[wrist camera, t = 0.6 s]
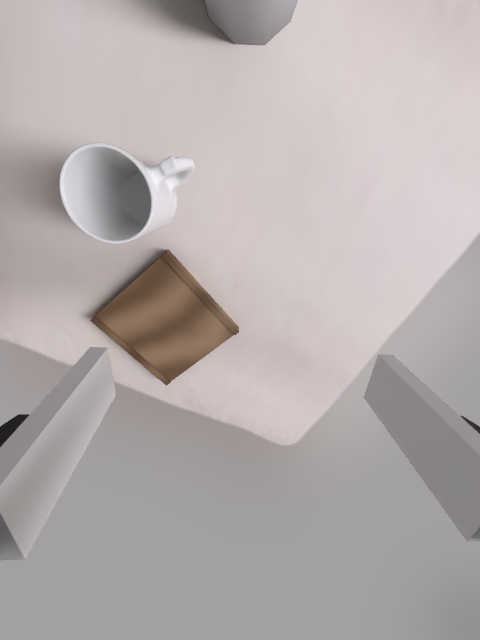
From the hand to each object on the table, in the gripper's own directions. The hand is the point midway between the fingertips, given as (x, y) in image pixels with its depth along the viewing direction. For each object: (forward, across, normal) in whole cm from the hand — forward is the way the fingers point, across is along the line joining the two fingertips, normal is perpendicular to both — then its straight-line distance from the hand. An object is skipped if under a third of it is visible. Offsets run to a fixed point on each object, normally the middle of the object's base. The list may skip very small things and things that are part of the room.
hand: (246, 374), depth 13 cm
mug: (+24, -8, +8) cm, 26 cm away
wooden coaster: (+23, -8, -8) cm, 26 cm away
